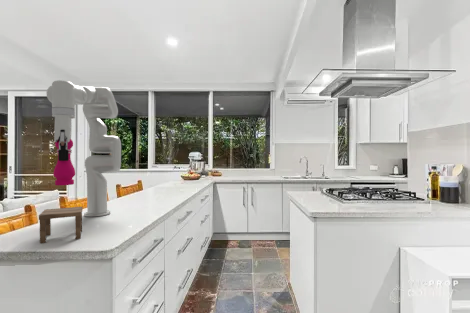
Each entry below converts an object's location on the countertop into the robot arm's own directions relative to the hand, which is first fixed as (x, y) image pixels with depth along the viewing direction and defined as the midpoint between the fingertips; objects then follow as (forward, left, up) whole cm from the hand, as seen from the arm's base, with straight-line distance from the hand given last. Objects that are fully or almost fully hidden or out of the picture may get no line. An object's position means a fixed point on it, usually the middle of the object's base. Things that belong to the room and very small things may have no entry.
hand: (64, 160), depth 108 cm
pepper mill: (0, 0, -10) cm, 10 cm away
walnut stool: (0, -1, -29) cm, 29 cm away
